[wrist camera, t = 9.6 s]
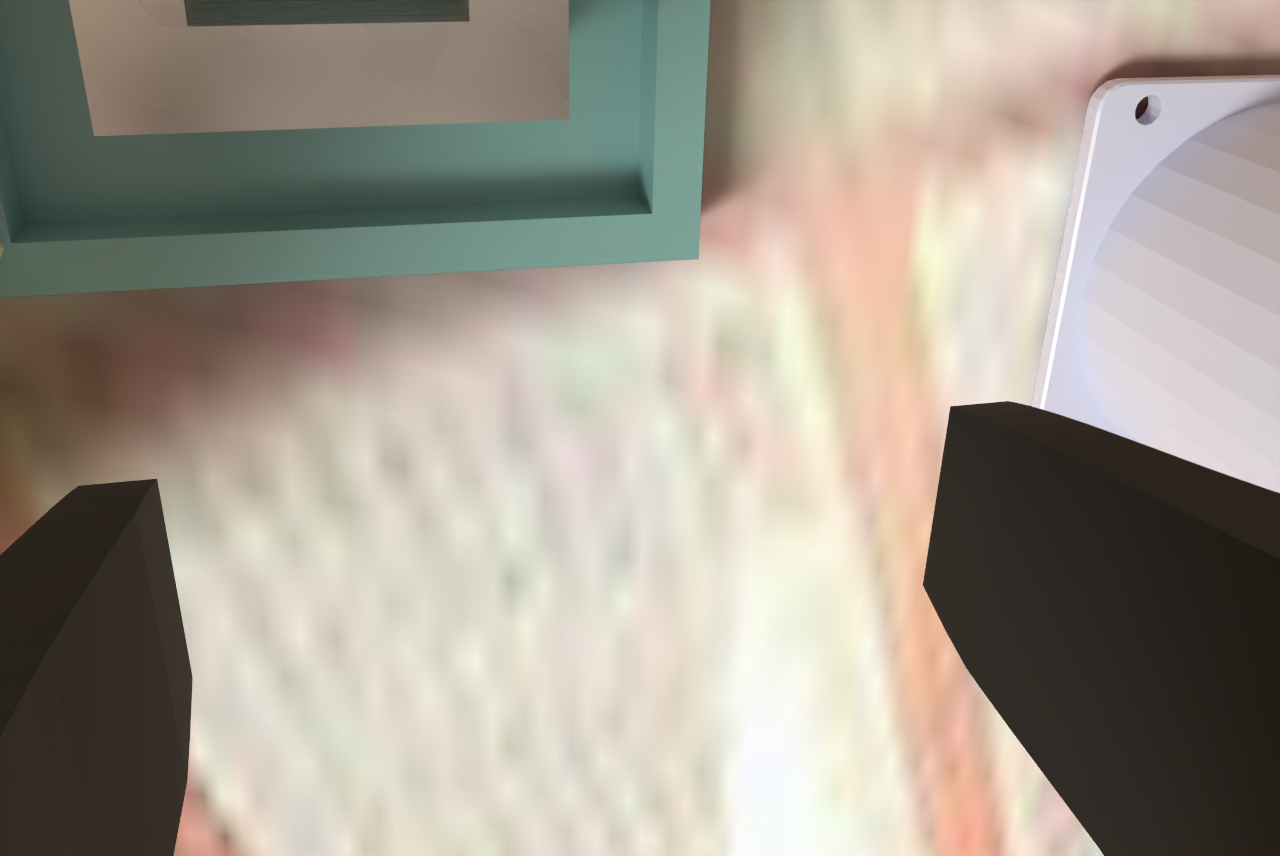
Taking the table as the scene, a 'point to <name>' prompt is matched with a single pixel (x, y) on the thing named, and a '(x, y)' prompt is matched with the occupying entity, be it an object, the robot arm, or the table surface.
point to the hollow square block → (319, 63)
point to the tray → (355, 174)
